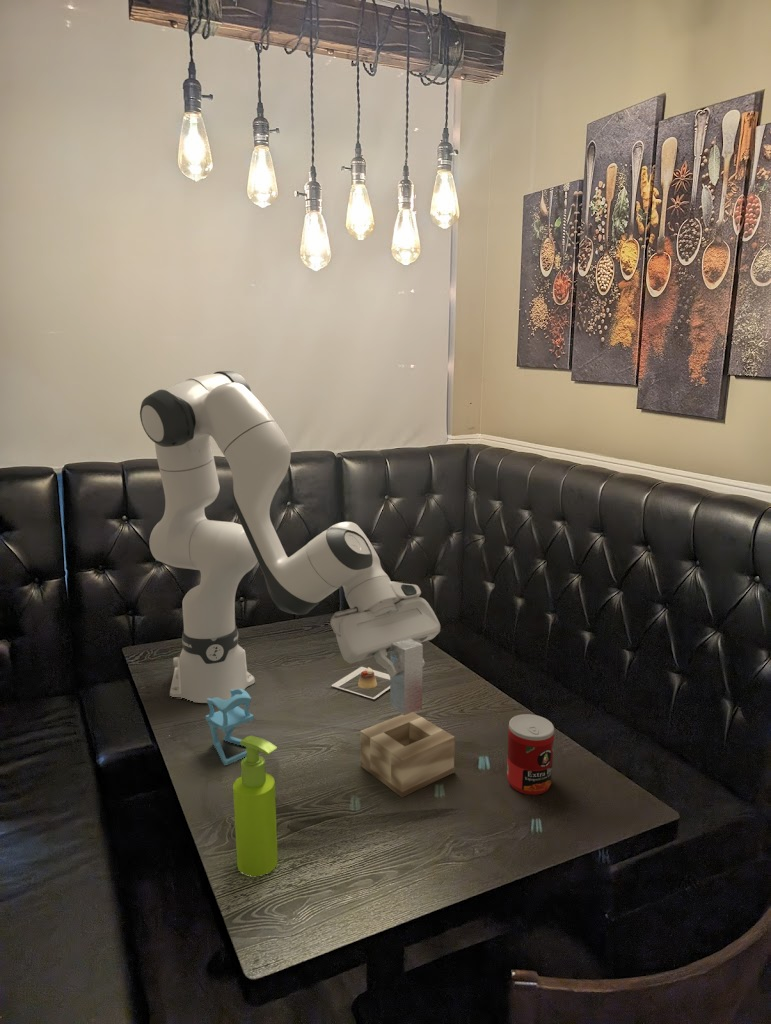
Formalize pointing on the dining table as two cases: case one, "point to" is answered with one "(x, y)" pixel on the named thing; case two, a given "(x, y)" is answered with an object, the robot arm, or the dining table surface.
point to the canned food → (530, 753)
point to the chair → (229, 720)
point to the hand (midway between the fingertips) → (408, 671)
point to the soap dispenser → (255, 811)
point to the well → (407, 753)
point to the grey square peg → (406, 676)
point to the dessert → (364, 680)
